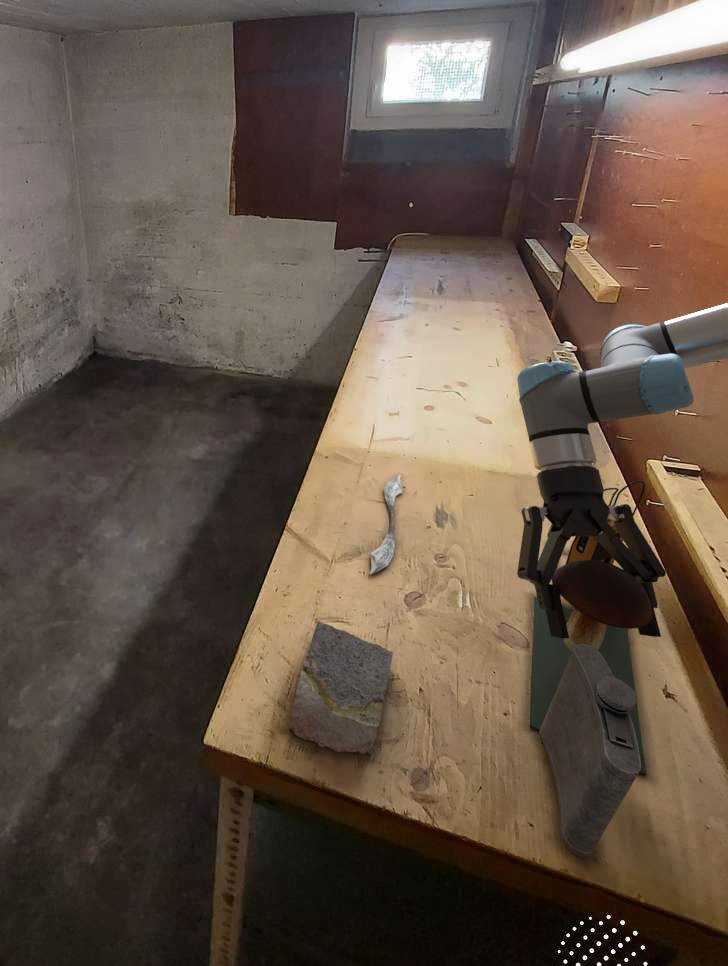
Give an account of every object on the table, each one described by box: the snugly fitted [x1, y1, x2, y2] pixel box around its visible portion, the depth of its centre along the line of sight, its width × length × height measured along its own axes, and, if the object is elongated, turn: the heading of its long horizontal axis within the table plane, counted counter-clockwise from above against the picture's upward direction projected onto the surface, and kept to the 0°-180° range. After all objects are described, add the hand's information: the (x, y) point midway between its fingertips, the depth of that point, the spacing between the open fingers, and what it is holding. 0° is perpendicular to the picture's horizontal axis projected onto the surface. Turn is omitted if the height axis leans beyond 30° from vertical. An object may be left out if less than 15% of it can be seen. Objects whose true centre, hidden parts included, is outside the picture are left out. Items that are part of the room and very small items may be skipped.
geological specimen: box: [288, 620, 394, 756], centre depth 75 cm, size 11×6×15 cm
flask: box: [539, 644, 641, 858], centre depth 61 cm, size 4×14×18 cm, turn 161°
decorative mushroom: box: [551, 560, 652, 652], centre depth 75 cm, size 11×11×15 cm
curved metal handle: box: [369, 473, 404, 575], centre depth 108 cm, size 32×1×5 cm
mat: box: [529, 596, 647, 776], centre depth 78 cm, size 12×24×1 cm, turn 150°
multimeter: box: [556, 480, 646, 570], centre depth 92 cm, size 15×10×20 cm
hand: (605, 636), depth 73 cm, fingers closed on decorative mushroom, 11 cm apart
